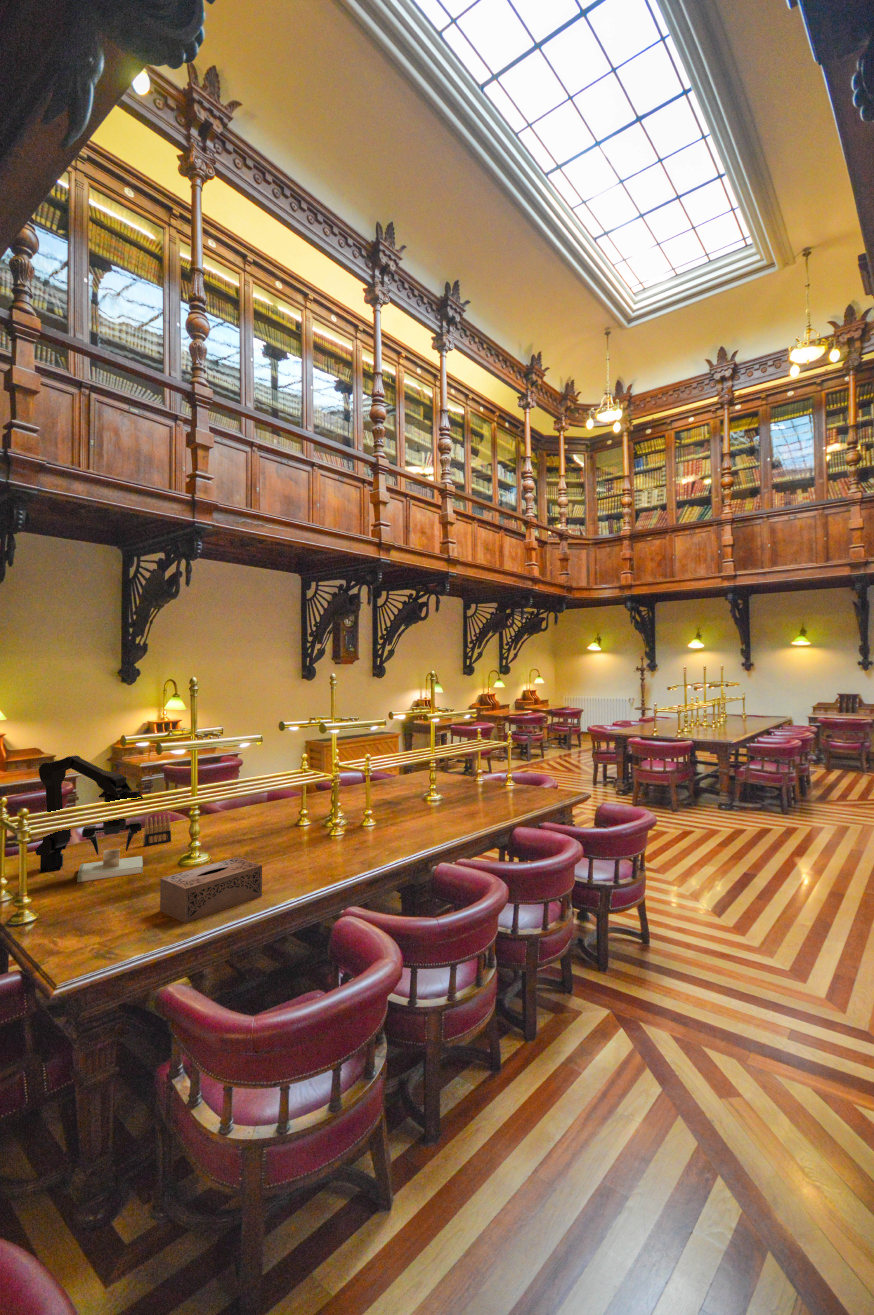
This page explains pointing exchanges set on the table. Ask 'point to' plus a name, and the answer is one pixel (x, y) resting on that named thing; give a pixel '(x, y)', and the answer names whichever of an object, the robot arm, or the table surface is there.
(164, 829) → the ammunition clip
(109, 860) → the maple block
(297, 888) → the table surface
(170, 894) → the tissue box cover
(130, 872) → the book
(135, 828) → the robot arm
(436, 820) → the table surface
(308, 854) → the table surface
